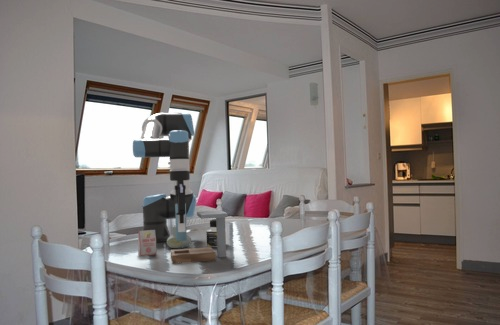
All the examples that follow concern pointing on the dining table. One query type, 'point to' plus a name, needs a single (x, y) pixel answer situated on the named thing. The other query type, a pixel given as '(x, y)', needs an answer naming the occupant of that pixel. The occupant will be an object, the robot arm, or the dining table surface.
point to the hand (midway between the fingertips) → (181, 230)
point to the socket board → (192, 255)
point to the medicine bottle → (213, 234)
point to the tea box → (146, 243)
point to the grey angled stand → (220, 228)
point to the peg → (179, 235)
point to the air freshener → (177, 244)
